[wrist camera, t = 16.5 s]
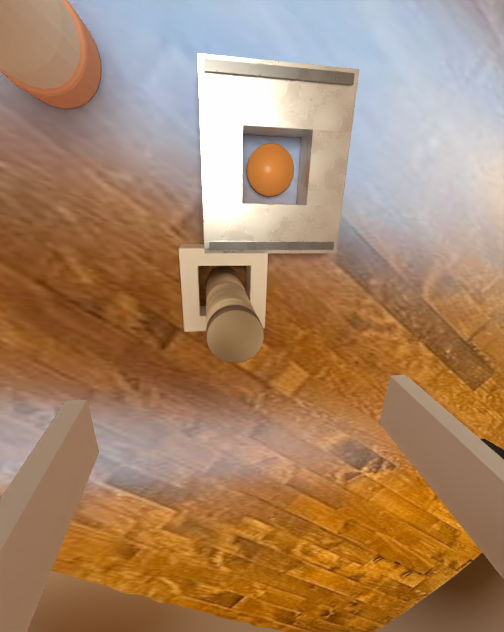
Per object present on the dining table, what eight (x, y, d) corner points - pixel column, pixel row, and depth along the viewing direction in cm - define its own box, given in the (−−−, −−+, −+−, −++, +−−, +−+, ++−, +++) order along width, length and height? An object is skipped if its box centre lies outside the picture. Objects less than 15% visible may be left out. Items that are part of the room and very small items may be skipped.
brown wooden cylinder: (205, 300, 35) (207, 365, 21) (204, 266, 33) (205, 311, 19) (240, 299, 35) (263, 361, 21) (240, 265, 34) (265, 309, 20)
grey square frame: (204, 248, 32) (204, 253, 29) (198, 71, 27) (197, 51, 23) (323, 248, 35) (337, 253, 31) (341, 84, 29) (360, 67, 25)
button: (246, 195, 31) (247, 195, 30) (247, 143, 29) (248, 141, 28) (289, 196, 32) (292, 196, 31) (293, 146, 30) (295, 144, 29)
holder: (186, 319, 35) (184, 331, 32) (181, 243, 32) (178, 248, 29) (259, 317, 36) (264, 328, 33) (261, 243, 33) (268, 248, 30)
